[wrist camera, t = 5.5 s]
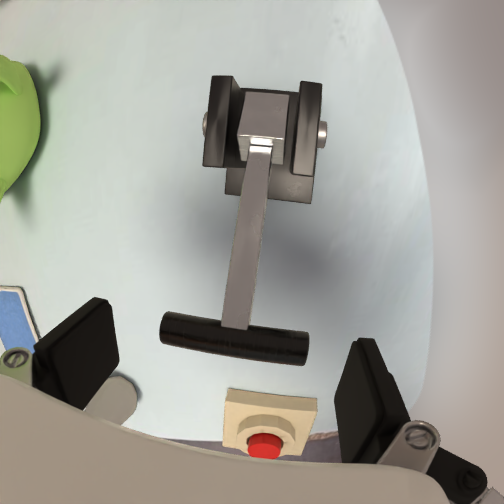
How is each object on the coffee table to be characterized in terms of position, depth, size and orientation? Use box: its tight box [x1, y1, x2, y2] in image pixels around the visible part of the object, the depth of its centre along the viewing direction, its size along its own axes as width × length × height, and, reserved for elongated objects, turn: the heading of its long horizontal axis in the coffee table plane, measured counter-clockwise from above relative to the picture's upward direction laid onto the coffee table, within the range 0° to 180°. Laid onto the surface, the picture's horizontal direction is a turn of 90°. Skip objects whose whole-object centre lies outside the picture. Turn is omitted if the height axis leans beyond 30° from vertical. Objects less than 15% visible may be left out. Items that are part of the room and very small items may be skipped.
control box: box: [223, 388, 318, 457], centre depth 30 cm, size 10×9×4 cm
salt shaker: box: [85, 376, 137, 425], centre depth 27 cm, size 6×6×13 cm
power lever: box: [159, 92, 309, 366], centre depth 13 cm, size 12×6×2 cm, turn 174°
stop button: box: [247, 433, 281, 459], centre depth 27 cm, size 4×4×2 cm
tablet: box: [0, 286, 39, 354], centre depth 34 cm, size 19×13×1 cm, turn 6°
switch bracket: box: [202, 76, 327, 204], centre depth 18 cm, size 9×7×12 cm
